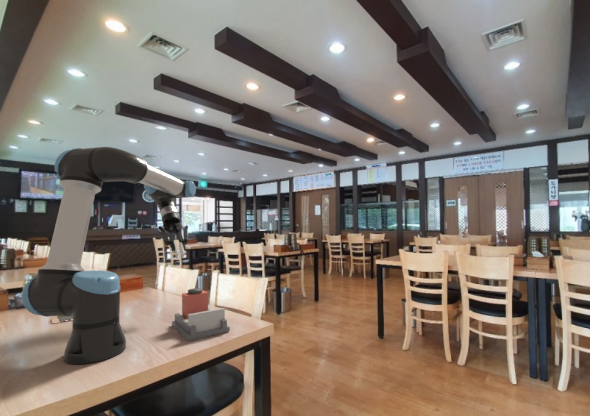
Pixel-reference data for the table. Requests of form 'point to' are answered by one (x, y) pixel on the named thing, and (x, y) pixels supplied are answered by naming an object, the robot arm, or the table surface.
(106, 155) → the robot arm
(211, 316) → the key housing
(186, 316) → the block
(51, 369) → the table surface
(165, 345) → the table surface
